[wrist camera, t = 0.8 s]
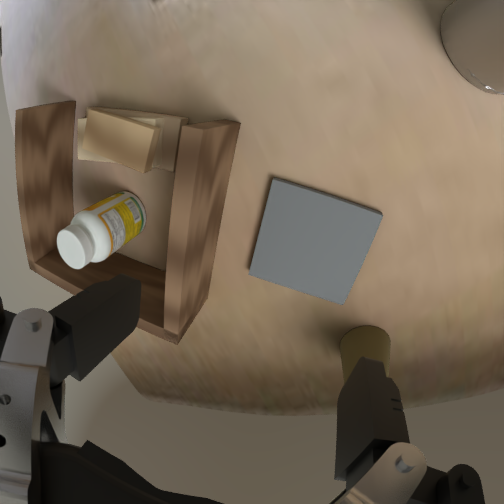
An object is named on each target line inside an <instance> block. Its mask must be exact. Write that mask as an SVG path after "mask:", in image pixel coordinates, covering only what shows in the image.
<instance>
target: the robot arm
mask: <svg viewBox="0 0 504 504" xmlns="http://www.w3.org/2000/svg"><path fill="white" fill-rule="evenodd" d="M441 36H442V40H443V44H444V47H445V49H446V52H447V54H448V56H449V58H450V59H451V61H452V63H453V64H454V66H455V67H456V68H457V70H458V71H459V72H460V73H461V75H462V76H464V77H465V78H466V79H467V80H468V81H469V82H470V83H471V84H473V85H474V86H476V87H477V88H479V89H481V90H483V91H485V92H488V93H492V94H503V95H504V0H456V1H454V2H453V3H452V4H451V5H450V6H449V7H448V8H447V9H446V10H445V11H444V14H443V16H442V19H441ZM140 300H141V282H140V280H138V279H135V278H133V277H130V276H128V275H126V274H123V273H120V274H119V275H117V276H115V277H114V278H112V279H110V280H109V281H102V282H98V283H94V284H92V285H90V286H89V287H87V288H85V289H84V291H81V292H79V293H77V294H76V296H72V297H71V298H69V299H68V300H66V301H64V302H63V303H61V304H60V305H58V306H57V307H55V308H53V309H52V310H50V311H49V312H47V311H45V310H43V309H38V308H30V309H26V310H23V311H21V312H19V313H18V314H15V313H12V312H9V311H7V310H4V309H3V304H2V299H1V297H0V504H223V503H220V502H217V501H214V500H211V499H208V498H202V497H195V496H189V495H183V494H178V493H172V492H168V491H163V490H160V489H158V488H156V487H154V486H153V485H152V484H150V483H149V482H148V481H146V480H145V479H144V478H143V477H141V476H140V475H139V474H137V473H136V472H135V471H134V470H133V469H132V468H130V467H129V466H128V465H127V464H126V463H125V462H123V461H122V460H120V459H118V458H117V457H115V456H113V455H111V454H110V453H108V452H106V451H105V450H103V449H101V448H100V447H98V446H96V445H95V444H93V443H92V442H90V441H88V440H87V441H86V442H85V443H84V445H83V446H82V447H79V446H75V445H72V444H68V442H67V437H66V433H65V418H64V417H65V380H64V379H65V378H66V377H67V376H68V375H71V376H72V377H74V378H75V379H77V380H78V381H81V380H82V379H83V378H84V377H86V375H88V374H89V373H90V372H91V371H92V370H93V369H94V368H95V367H96V366H97V365H98V364H99V363H100V362H101V361H102V360H103V359H104V358H105V357H106V356H107V355H108V354H109V353H111V352H112V351H113V350H114V349H115V348H116V347H117V346H118V345H119V344H120V343H121V342H122V341H123V340H124V339H125V338H126V337H127V336H128V335H130V334H131V333H132V332H133V331H134V329H135V328H136V326H137V324H138V321H139V315H140ZM334 479H335V480H342V481H346V489H344V490H343V491H342V492H341V493H340V494H339V495H338V496H337V497H335V498H334V499H333V500H332V501H331V502H330V503H329V504H485V501H484V495H483V489H482V484H481V480H480V477H479V475H478V473H477V472H476V471H475V470H474V469H473V468H472V467H470V466H468V465H465V464H458V465H456V466H454V467H453V468H452V469H451V470H450V471H448V472H447V473H446V472H443V471H440V470H436V469H434V468H431V467H428V466H427V461H426V458H425V456H424V455H423V453H422V452H421V451H420V450H419V449H418V448H417V447H415V446H414V445H411V444H410V441H409V436H408V431H407V425H406V420H405V415H404V412H403V406H402V403H401V397H400V392H399V389H398V387H397V386H396V384H395V383H394V381H393V380H392V378H388V377H386V372H385V368H384V364H383V362H382V361H379V360H375V359H371V358H368V357H364V356H362V357H361V358H360V359H359V360H358V362H357V364H356V365H355V367H354V369H353V371H352V372H351V374H350V376H349V378H348V379H347V381H346V383H345V384H344V386H343V388H342V390H341V392H340V395H339V398H338V403H337V441H336V462H335V478H334Z"/></svg>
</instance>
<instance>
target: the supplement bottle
mask: <svg viewBox="0 0 504 504" xmlns="http://www.w3.org/2000/svg"><path fill="white" fill-rule="evenodd" d="M145 223H146V213H145V209H144V206H143V204H142V203H141V201H140V200H139V199H138V198H137V197H136V196H135V195H134V194H132V193H129V192H125V191H123V192H118V193H116V194H114V195H112V196H110V197H108V198H106V199H104V200H102V201H100V202H98V203H96V204H94V205H92V206H90V207H88V208H86V209H84V210H82V211H80V212H79V213H77V214H76V215H75V216H74V217H73V219H72V221H71V224H70V225H68V226H67V227H66V228H64V229H62V230H61V231H60V232H59V233H58V236H57V246H58V250H59V253H60V255H61V257H62V258H63V260H64V261H65V262H66V263H67V264H68V265H69V266H70V267H72V268H74V269H81V268H83V267H84V266H85V265H87V264H88V263H90V262H101V261H103V260H105V259H106V258H107V257H109V256H110V255H111V254H113V253H114V252H115V251H116V250H118V249H119V248H120V247H122V246H123V245H124V244H126V243H127V242H129V241H130V240H131V239H133V238H134V237H135V236H137V235H138V234H139V233H140V232H142V230H143V229H144V227H145Z"/></svg>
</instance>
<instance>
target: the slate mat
mask: <svg viewBox="0 0 504 504" xmlns="http://www.w3.org/2000/svg"><path fill="white" fill-rule="evenodd" d="M382 217H383V215H382V213H381V212H378V211H376V210H373V209H370V208H367V207H365V206H362V205H359V204H356V203H353V202H350V201H347V200H345V199H342V198H339V197H336V196H333V195H330V194H327V193H324V192H321V191H317V190H314V189H311V188H308V187H305V186H302V185H298V184H295V183H292V182H289V181H285V180H282V179H279V178H275V177H274V178H273V180H272V184H271V188H270V192H269V196H268V200H267V204H266V208H265V212H264V216H263V220H262V224H261V228H260V232H259V236H258V239H257V243H256V247H255V251H254V255H253V259H252V263H251V267H250V271H249V275H251V276H254V277H257V278H260V279H263V280H266V281H269V282H272V283H275V284H278V285H282V286H285V287H288V288H291V289H294V290H297V291H300V292H303V293H306V294H309V295H312V296H316V297H319V298H322V299H325V300H328V301H331V302H334V303H338V304H341V305H343V304H344V302H345V300H346V298H347V296H348V294H349V292H350V290H351V288H352V286H353V284H354V281H355V279H356V277H357V275H358V273H359V271H360V269H361V266H362V264H363V262H364V260H365V257H366V255H367V253H368V251H369V248H370V246H371V244H372V241H373V239H374V237H375V234H376V232H377V230H378V227H379V225H380V222H381V220H382Z"/></svg>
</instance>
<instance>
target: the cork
mask: <svg viewBox="0 0 504 504" xmlns="http://www.w3.org/2000/svg"><path fill="white" fill-rule="evenodd" d="M390 342H391V341H390V338H389V335H388V334H387V333H386V332H385V331H384V330H382V329H381V328H379V327H374V326H361V327H358V328H354V329H352V330H351V331H349V332H348V333H346V335H345V336H344V337H343V338H342V340H341V342H340V352H341V360H342V368H343V377H344V384H345V383H346V381H347V379H348V378H349V376H350V374H351V372H352V371H353V369H354V367H355V365H356V364H357V362H358V360H359V359H360V358H361V357H362V356H364V357H368V358H371V359H375V360H379V361H382V362H383V364H384V368H385V372H386V377H388V374H389V360H390Z"/></svg>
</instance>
